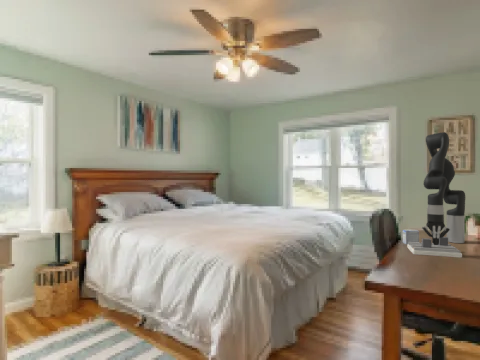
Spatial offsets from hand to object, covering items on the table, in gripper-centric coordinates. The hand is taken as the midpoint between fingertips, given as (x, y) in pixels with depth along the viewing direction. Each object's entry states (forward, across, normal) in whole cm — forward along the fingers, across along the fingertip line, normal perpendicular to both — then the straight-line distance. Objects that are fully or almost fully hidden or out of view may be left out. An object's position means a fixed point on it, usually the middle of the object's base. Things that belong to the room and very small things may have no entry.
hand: (435, 244), depth 156 cm
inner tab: (+3, -6, -8) cm, 10 cm away
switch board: (+5, 0, -4) cm, 7 cm away
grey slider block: (+3, +4, 0) cm, 5 cm away
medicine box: (+5, +7, -23) cm, 25 cm away
